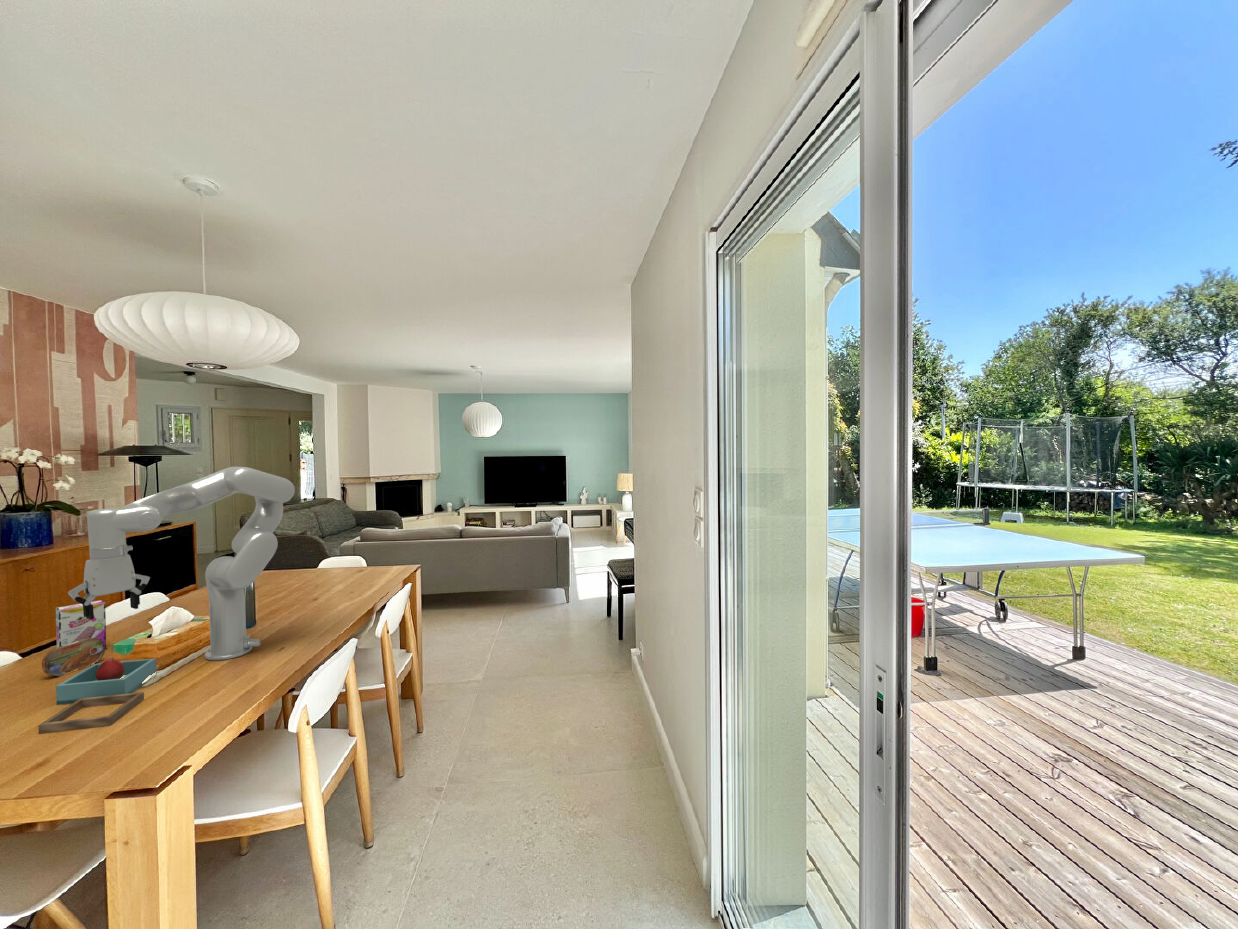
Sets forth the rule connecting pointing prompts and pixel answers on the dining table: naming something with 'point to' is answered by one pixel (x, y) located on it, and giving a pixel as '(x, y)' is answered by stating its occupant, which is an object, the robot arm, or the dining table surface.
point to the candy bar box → (80, 624)
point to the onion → (110, 670)
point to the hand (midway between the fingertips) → (112, 613)
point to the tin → (73, 656)
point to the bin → (104, 682)
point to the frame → (59, 725)
